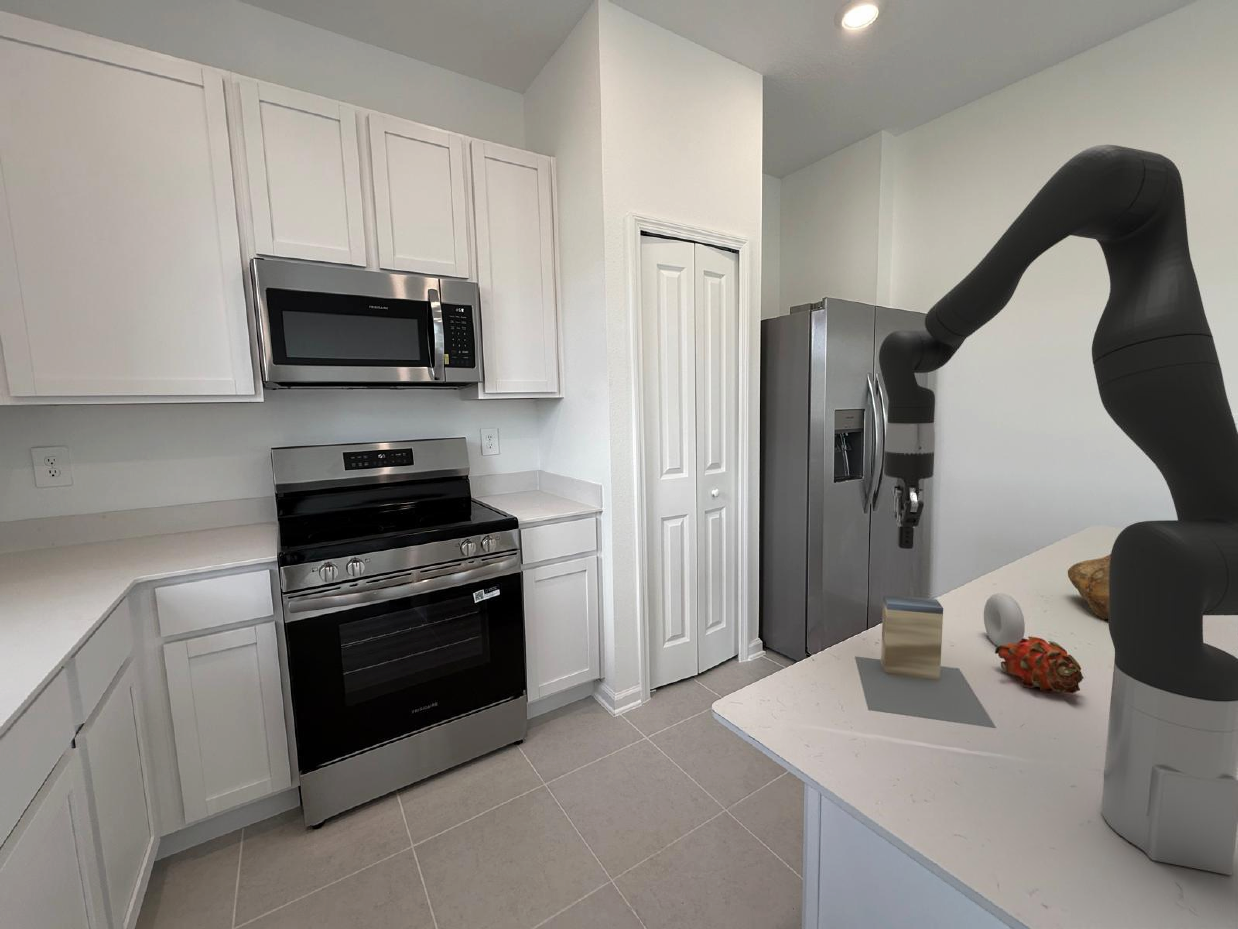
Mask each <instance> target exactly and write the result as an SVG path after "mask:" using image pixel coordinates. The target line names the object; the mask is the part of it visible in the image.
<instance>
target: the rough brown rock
mask: <svg viewBox="0 0 1238 929" xmlns="http://www.w3.org/2000/svg"><path fill="white" fill-rule="evenodd" d="M1110 556H1111V553H1110V554H1108V555H1106V556H1103V557H1100V558H1096V559H1095V558H1094V559H1088V560H1083V561H1080V562H1077V563H1075V564H1073V565H1071V566H1070V567H1069V568H1068V569H1067V577H1068V578H1069V582H1071V585H1073V587H1074V588H1075V589H1076V590H1077V591H1078V593H1079V595H1080V596H1081V597H1082V598H1083V600H1084V601H1086V602H1087V603H1088V606H1089V607H1090V608H1091V610H1092V611H1093V613H1095V615H1097V617H1099V618H1100V619H1102V620H1108V616H1109V564H1110Z"/></svg>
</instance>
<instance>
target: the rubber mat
mask: <svg viewBox="0 0 1238 929" xmlns="http://www.w3.org/2000/svg"><path fill="white" fill-rule="evenodd" d="M854 658H855V662H856V666H857V670H858V674H859V678H860V682H861V686H862V689H863V694H864V698H865V702H866V706H867V710H868V711H874V712H880V713H887V714H892V715H893V714H894V715H902V716H907V717H908V716H910V717H913V718H923V719H930V720H937V721H943V722H950V723H957V724H965V725H971V726H980V727H985V728H986V727H987V728H994V729H996V728H997V727H996V725H995V723H994V722H993V720H992V719H991V717H990V715H989V714H988V712H987V711H986V709H985V708H984V707H983V704H982V703H981V701H980V700H979V698H978V696H977V695H976V693H975V691H974V689H972V687H971V685H970V683H968V680H967V679H966V677H965V676H964V674H963V673H962V671H961V669H960V668H958V667H950V666H942V665H940V680H936V679H927V678H919V677H911V676H903V675H894V674H886V673H885V672H884V670H883V667H882V664H881V658H874V657H873V658H871V657H865V656H864V657H863V656H861V657H860V656H855V657H854Z"/></svg>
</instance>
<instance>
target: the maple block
mask: <svg viewBox="0 0 1238 929" xmlns="http://www.w3.org/2000/svg"><path fill="white" fill-rule="evenodd" d="M882 595H883V596H882V599H883V600H882V618H881V619H882V620H881V627H882V628H881V648H880V651H881V652H880V659H881V664H882V667H883V670H884V672H885V673H886V674H894V675H903V676H911V677H919V678H927V679H936V680H940V666H942V663H941V661H942V645H943V644H942V642H943V625H944V623H943V621H944V607H943V605H941V602H939V600H938V599H937V598H924V597H915V596H914V597H913V596H901V595H888V594H882Z"/></svg>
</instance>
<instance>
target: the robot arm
mask: <svg viewBox="0 0 1238 929" xmlns="http://www.w3.org/2000/svg"><path fill="white" fill-rule="evenodd" d="M1185 203H1186V202H1185V195H1184V187H1183V180H1182V176H1181V173H1180V170H1179V168H1178V167H1177V166H1176V164H1175V163H1174V162H1173V161H1172V160H1171V159H1170V158H1169V157H1166V156H1164V155H1163V154H1160V153H1157V152H1152V151H1147V150H1142V149H1137V148H1131V147H1126V146H1121V145H1115V144H1103V145H1101V144H1100V145H1098V144H1097V145H1095V146H1092V147H1089V148H1086V149H1084V150H1082V151H1081V152H1079V153H1077V154H1076V155H1074V156H1073V157H1072V158H1070V159H1069V160H1068V161H1067V162H1065V163H1064V164H1062V166H1061V167H1060V168H1059V169H1058V170H1057V171H1056V172H1055V173H1054V174H1053V175H1052V176H1051V177H1050V178H1049V180H1048V181H1047V182H1046V183H1045V184H1044V185H1043V186H1042V187H1041V189H1040V190H1039V191H1038V192H1037V194H1035V196H1034V197H1033V198H1032V199H1031V200H1030V202H1029V203H1028V204H1027V205H1026V207H1024V209H1023V210H1022V212H1020V214H1019V215H1018V216H1017V217H1016V218H1015V220H1014V221H1013V222H1012V223H1011V224H1010V225H1009V227H1008V228H1007V229H1006V230H1005V232H1004V233H1003V234H1002V235H1001V237H1000V238H999V239H998V240H997V242H996V243H994V245H993V247H991V248H990V250H989V251H988V253H986V255H985V256H984V257H983V258H982V259H981V260H980V261H979V262H978V264H976V266H975V267H974V268H973V269H972V270H971V271H970V272H969V273H968V274H967V275H966V276H965V277H964V278H963V279H962V280H960V282H958V283H957V284H956V285H955V286H954V287H953V288H951V289H950V290H949V291H948V292H947V293H946V294H944V296H943V297H942V298H940V299H939V301H937V302H936V303H935V304H934V305H932V307H930V309H929V310H928V312H927V313H926V315H925V317H924V326H925V328H926V330H909V329H908V330H904V329H903V330H902V329H901V330H895V331H892V332H891V333H889V334H888V335H887V336H885V338H884V339H883V341H882V343H881V345H880V347H879V352H878V363H879V369H880V372H881V376H882V379H883V383H884V384H883V385H884V389H885V392H886V395H887V399H888V401H887V402H888V404H887V420H886V421H887V423H886V429H885V436H884V457H883V458H884V459H883V460H884V462H883V463H884V465H883V473H884V476H886V477H889V478H893V479H896V485H893V486H892V492H891V493H892V499H893V510H894V518H895V520H896V521H895V522H896V525H897V542H896V543H897V546H898V547H899V548H900V549H904V550H905V549H907V550H908V549H909V550H910V549H913V548H914V530H915V528H916V527H918V526H919V524H920V519H921V516H922V512H923V509H924V508H923V507H924V505H925V504H924V501H923V500H922V499H923V493H924V492H923V491H924V490H923V488H920V480H927V479H930V478H932V477H933V476H934V467H935V450H936V449H935V448H936V432H935V412H936V411H935V410H936V408H935V406H936V395H935V392H934V391H933V390H932V389H930V388H927V387H924V386H920V385H919V383H918V382H917V378H916V374H928V373H931V372H934V371H935V372H936V371H937V370H939V369H940V368H942V367H944V366H945V365H947V364H948V363H949V361H950V360H951V359H952V357H953V356H954V355H955V354H956V353H957V351H958V350H959V349H960V348H961V346H962V345H963V344H964V342H965V340H966V339H967V338H968V337H970V336H972V335H973V334H975V332H977V331H978V330H979V329H980V328H982V327H983V326H985V325H986V324H987V323H988V322H990V321H991V320H992V319H993V318H995V317H996V316H997V315H998V314H999V313H1000V312H1001V311H1002V310H1003V309H1004V308H1005V307H1006V306H1007V305H1008V303H1009V302H1010V300H1011V299H1012V298H1013V297H1014V293H1015V291H1016V290H1017V288H1018V285H1019V283H1020V282H1021V279H1022V277H1023V276H1024V273H1025V272H1026V271H1027V270H1028V268H1029V266H1030V265H1031V264H1032V263H1034V262H1035V260H1037V259H1038V258H1039V257H1040V256H1041V255H1043V253H1045V252H1047V251H1048V250H1050V249H1051V248H1052V247H1054V246H1055V245H1058V243H1060V242H1062V241H1063V240H1065V239H1067V238H1068V237H1070V236H1073V237H1078V238H1087V239H1092V240H1096V242H1097V243H1098V244H1099V246H1100V249H1101V250H1102V253H1103V257H1104V260H1105V263H1106V267H1107V272H1108V276H1109V284H1110V285H1109V286H1110V287H1109V296H1108V299H1107V301H1106V305H1105V307H1104V309H1103V312H1102V314H1101V316H1100V318H1099V321H1098V324H1097V326H1096V329H1095V332H1094V335H1093V338H1092V344H1091V358H1092V360H1091V361H1092V365H1093V371H1094V375H1095V378H1096V383H1097V384H1096V385H1097V388H1098V394H1099V396H1100V400H1101V403H1102V406H1103V408H1104V410H1105V411H1106V413H1107V414H1108V416H1109V417H1110V418H1111V419H1112V420H1113V422H1114V424H1116V425H1117V426H1118V428H1119V429H1120V430H1121V431H1122V432H1123V433H1124V434H1125V435H1126V436H1127V437H1128V438H1129V439H1130V440H1131V441H1132V442H1133V443H1134V444H1135V445H1136V447H1138V448H1139V449H1140V450H1141V451H1142V453H1143V454H1145V456H1146V457H1148V458H1149V459H1150V461H1151V462H1152V463H1153V464H1154V465H1155V466H1156V468H1157V469H1158V471H1159V473H1160V474H1161V475H1162V477H1163V479H1164V481H1165V483H1166V486H1167V487H1168V490H1169V492H1170V496H1171V498H1172V501H1173V506H1174V508H1175V513H1176V514H1175V515H1176V518H1177V519H1176V520H1174V519H1173V520H1172V519H1171V520H1167V519H1166V520H1161V519H1160V520H1144V521H1137V522H1134V523H1132V524H1130V525H1127V526H1126V527H1125V528H1124V529H1123V530H1122V531H1120V533H1118V535H1117V537H1116V539H1115V540H1114V543H1113V545H1112V549H1111V552H1110V554H1111V556H1110V564H1109V616H1108V619H1107V620H1108V623H1107V624H1108V631H1109V635H1110V640H1111V642H1112V643H1113V648H1114V661H1113V672H1112V683H1111V691H1110V704H1109V715H1108V726H1107V735H1106V736H1107V739H1106V747H1105V760H1104V769H1103V770H1104V771H1103V784H1102V795H1101V797H1102V798H1101V808H1100V812H1101V814H1102V817H1103V819H1104V821H1105V822H1106V823H1107V824H1108V825H1109V827H1111V829H1112V830H1114V831H1115V832H1116V833H1117V834H1118V835H1120V836H1121V837H1122V838H1124V839H1125V840H1127V841H1128V842H1130V843H1131V844H1132V845H1134V846H1136V847H1137V848H1139V849H1141V851H1143V852H1144V853H1145V854H1146V855H1147V856H1148V858H1150V859H1151V860H1153V861H1155V862H1161V863H1166V864H1171V865H1176V866H1182V867H1187V868H1192V869H1198V870H1203V871H1208V872H1211V873H1212V872H1213V873H1218V874H1223V875H1229V876H1231V874H1232V873H1233V868H1234V860H1235V851H1236V841H1237V835H1238V834H1237V833H1238V779H1237V776H1238V658H1237V657H1236V656H1234V655H1233V654H1231V653H1230V652H1227V651H1226V650H1223V649H1221V648H1218V647H1216V646H1213V645H1211V644H1208V643H1205V642H1204V616H1238V429H1237V426H1236V422H1235V419H1234V416H1233V412H1232V409H1231V406H1230V403H1229V399H1228V396H1227V395H1228V394H1227V391H1226V386H1225V381H1224V377H1223V375H1224V374H1223V371H1222V367H1221V364H1220V359H1219V356H1218V352H1217V349H1216V348H1217V347H1216V344H1215V341H1214V340H1215V339H1214V336H1213V333H1212V331H1211V328H1210V325H1209V322H1208V320H1207V319H1208V318H1207V316H1206V313H1205V312H1206V311H1205V308H1204V304H1203V303H1204V302H1203V300H1202V299H1203V298H1202V295H1201V292H1200V288H1199V284H1198V278H1197V275H1196V273H1195V269H1194V268H1195V267H1194V266H1193V262H1192V258H1191V252H1190V245H1189V238H1188V237H1189V236H1188V224H1187V213H1186V204H1185Z"/></svg>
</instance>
